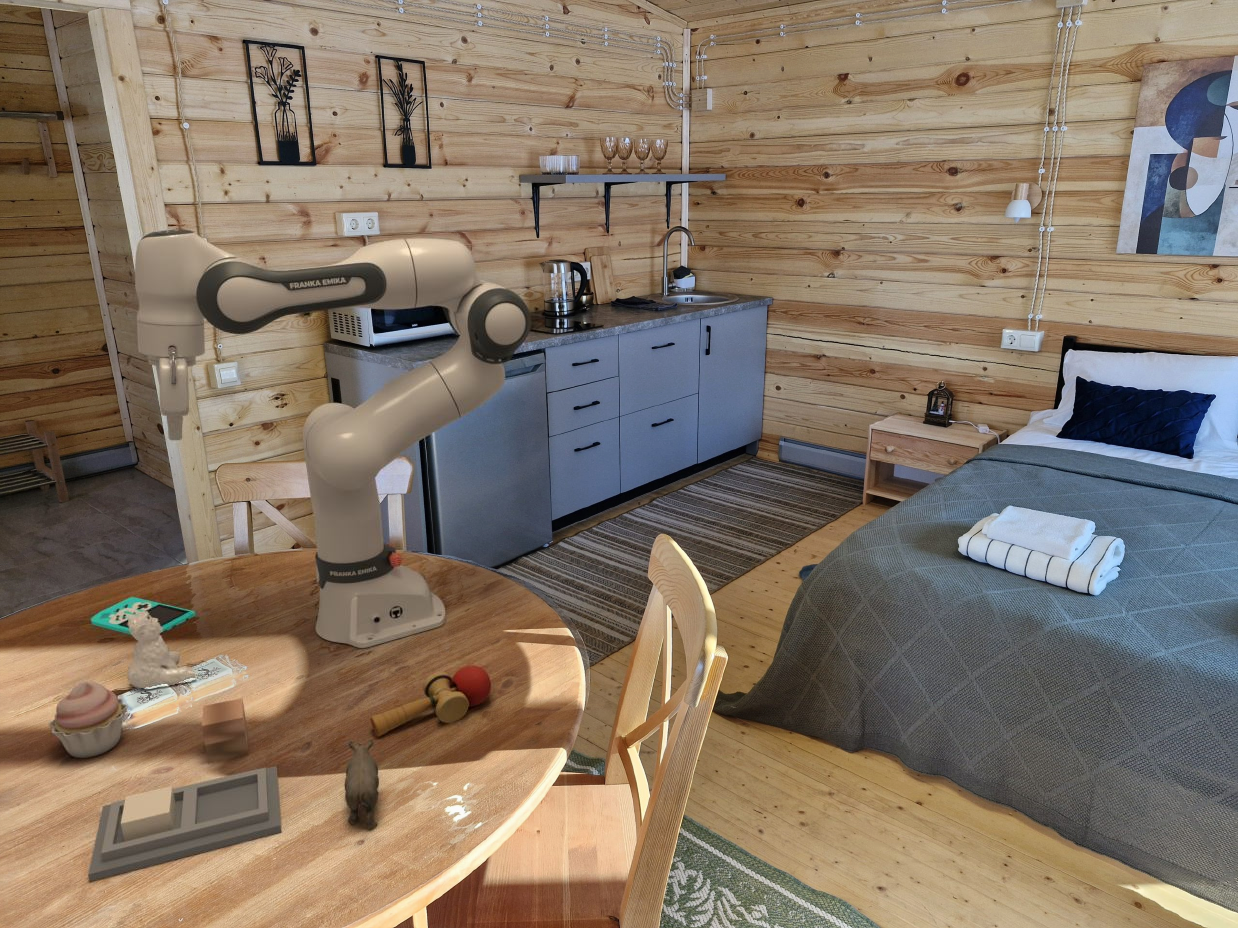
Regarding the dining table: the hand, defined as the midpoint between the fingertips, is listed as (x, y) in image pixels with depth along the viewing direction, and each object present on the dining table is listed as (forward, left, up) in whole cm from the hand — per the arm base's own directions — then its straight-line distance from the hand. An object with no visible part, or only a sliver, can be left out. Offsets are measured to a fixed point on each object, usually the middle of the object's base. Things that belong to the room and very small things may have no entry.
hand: (174, 431), depth 130 cm
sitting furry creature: (+7, +6, -39) cm, 40 cm away
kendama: (-31, +32, -39) cm, 59 cm away
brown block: (-3, +29, -39) cm, 48 cm away
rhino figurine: (-19, +46, -39) cm, 63 cm away
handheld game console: (+12, -18, -39) cm, 45 cm away
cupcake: (+14, +21, -39) cm, 46 cm away
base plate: (+1, +43, -38) cm, 58 cm away
